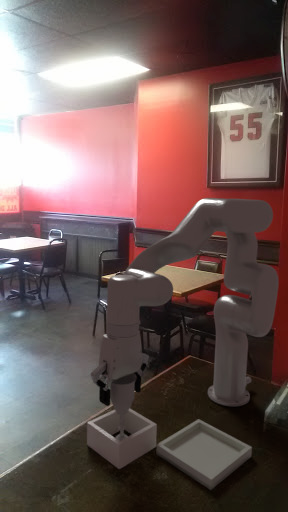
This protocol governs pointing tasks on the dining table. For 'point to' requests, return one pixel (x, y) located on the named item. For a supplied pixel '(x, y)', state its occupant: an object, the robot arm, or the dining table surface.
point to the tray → (204, 453)
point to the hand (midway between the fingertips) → (120, 396)
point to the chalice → (122, 399)
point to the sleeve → (128, 447)
